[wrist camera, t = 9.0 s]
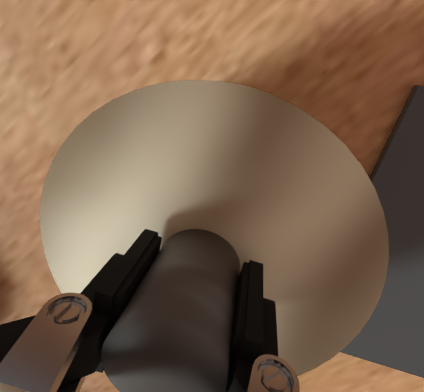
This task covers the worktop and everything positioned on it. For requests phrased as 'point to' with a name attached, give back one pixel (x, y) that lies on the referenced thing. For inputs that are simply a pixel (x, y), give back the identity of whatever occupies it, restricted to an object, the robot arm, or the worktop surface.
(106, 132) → the lid
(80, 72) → the worktop surface
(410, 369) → the mat
